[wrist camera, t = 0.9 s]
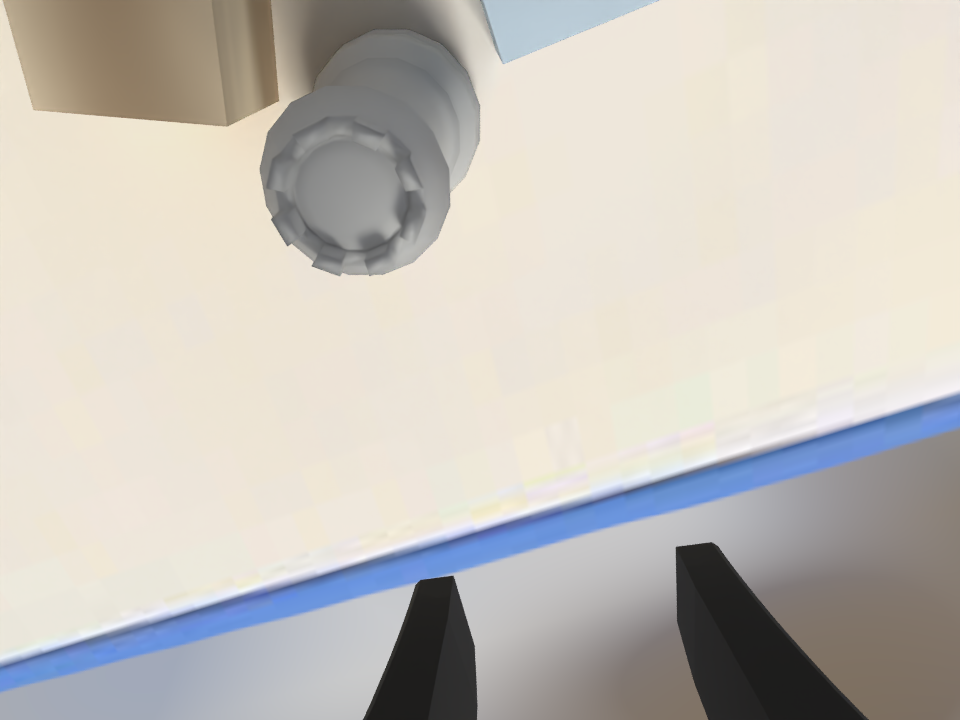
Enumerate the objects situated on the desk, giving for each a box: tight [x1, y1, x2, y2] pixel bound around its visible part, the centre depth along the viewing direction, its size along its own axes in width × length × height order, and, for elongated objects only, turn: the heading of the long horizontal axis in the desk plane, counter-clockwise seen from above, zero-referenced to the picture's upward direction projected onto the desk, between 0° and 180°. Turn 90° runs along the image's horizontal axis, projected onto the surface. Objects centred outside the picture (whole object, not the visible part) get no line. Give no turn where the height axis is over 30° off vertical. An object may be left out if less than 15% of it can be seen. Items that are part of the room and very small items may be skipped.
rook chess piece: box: [260, 29, 480, 276], centre depth 13 cm, size 4×4×8 cm
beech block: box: [3, 0, 279, 126], centre depth 13 cm, size 4×4×4 cm
